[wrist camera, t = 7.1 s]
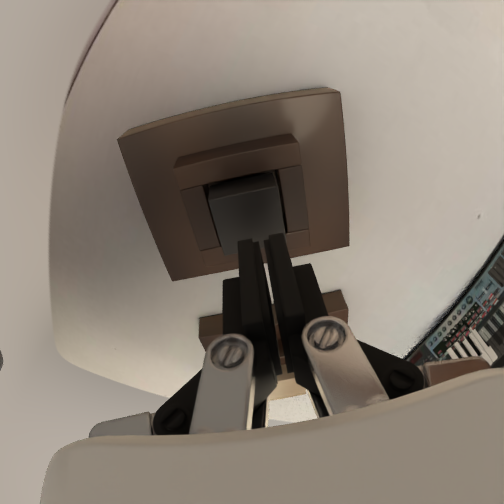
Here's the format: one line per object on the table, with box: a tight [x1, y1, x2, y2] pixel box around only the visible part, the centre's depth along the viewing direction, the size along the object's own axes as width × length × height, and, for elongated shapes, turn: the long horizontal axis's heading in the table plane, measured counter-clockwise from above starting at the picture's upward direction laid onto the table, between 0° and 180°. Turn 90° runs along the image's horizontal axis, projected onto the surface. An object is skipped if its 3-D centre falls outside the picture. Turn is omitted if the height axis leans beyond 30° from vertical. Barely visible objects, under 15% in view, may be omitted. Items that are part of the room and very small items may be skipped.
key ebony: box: [208, 173, 287, 256], centre depth 15 cm, size 3×3×2 cm
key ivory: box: [269, 364, 306, 400], centre depth 25 cm, size 3×3×2 cm
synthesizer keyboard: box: [405, 240, 504, 368], centre depth 25 cm, size 22×10×10 cm
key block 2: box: [199, 290, 348, 365], centre depth 27 cm, size 12×10×4 cm
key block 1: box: [117, 87, 349, 281], centre depth 17 cm, size 12×10×4 cm
